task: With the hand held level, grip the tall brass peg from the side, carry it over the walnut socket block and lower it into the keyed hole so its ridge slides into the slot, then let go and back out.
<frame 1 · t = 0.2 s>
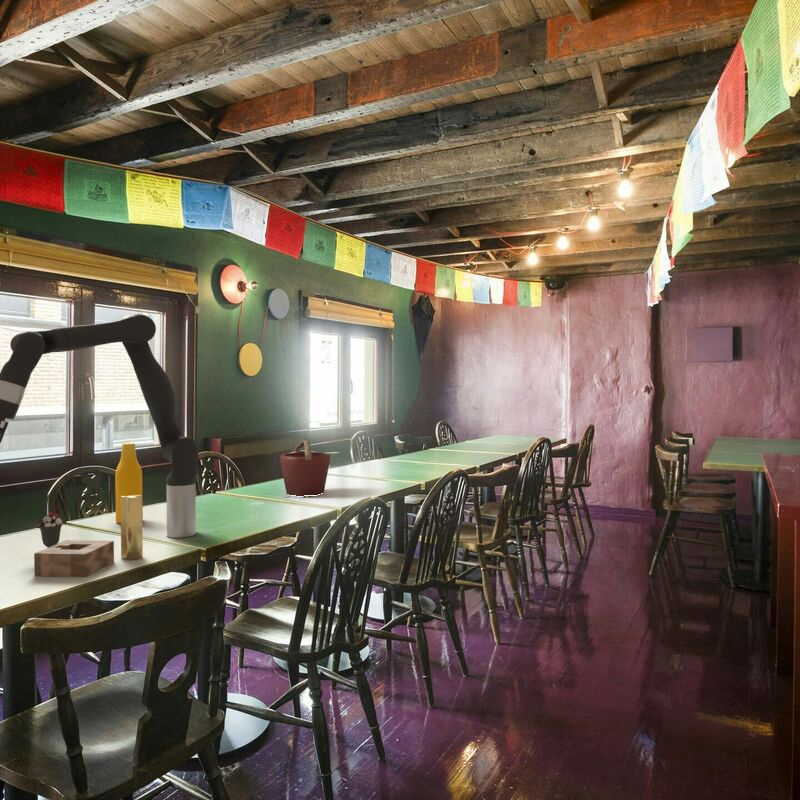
brass peg: (134, 558, 178), on the table
bucket: (306, 494, 284), on the table
beer bottle: (129, 522, 227), on the table
walnut socket block: (75, 568, 168), on the table
sundae: (51, 559, 177), on the table
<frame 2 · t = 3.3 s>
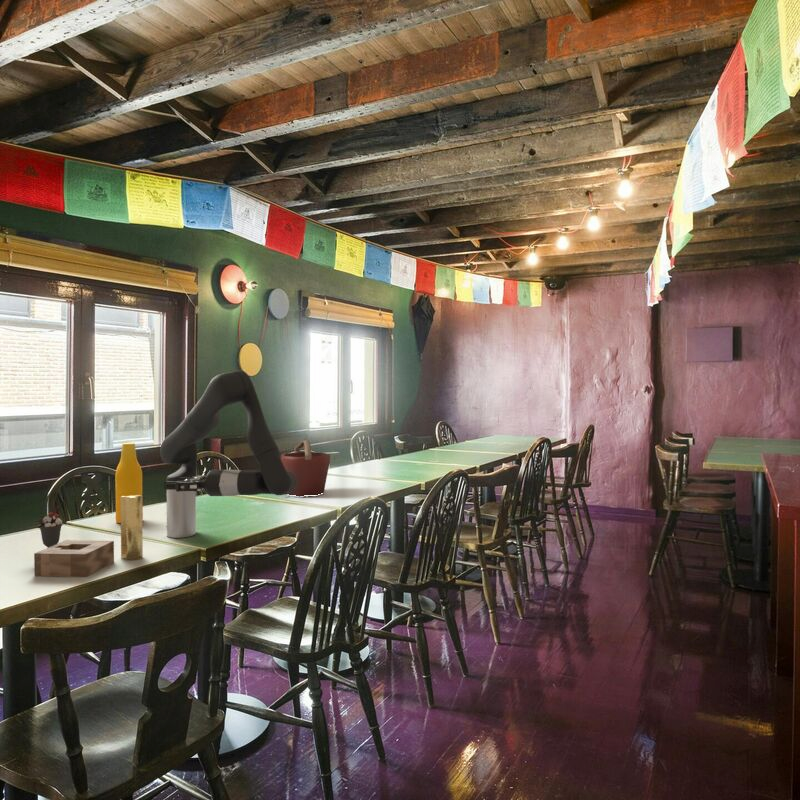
hand: (171, 483, 177), 22 cm above the table, tool horizontal, fingers open, 8 cm apart
nothing on the table moved.
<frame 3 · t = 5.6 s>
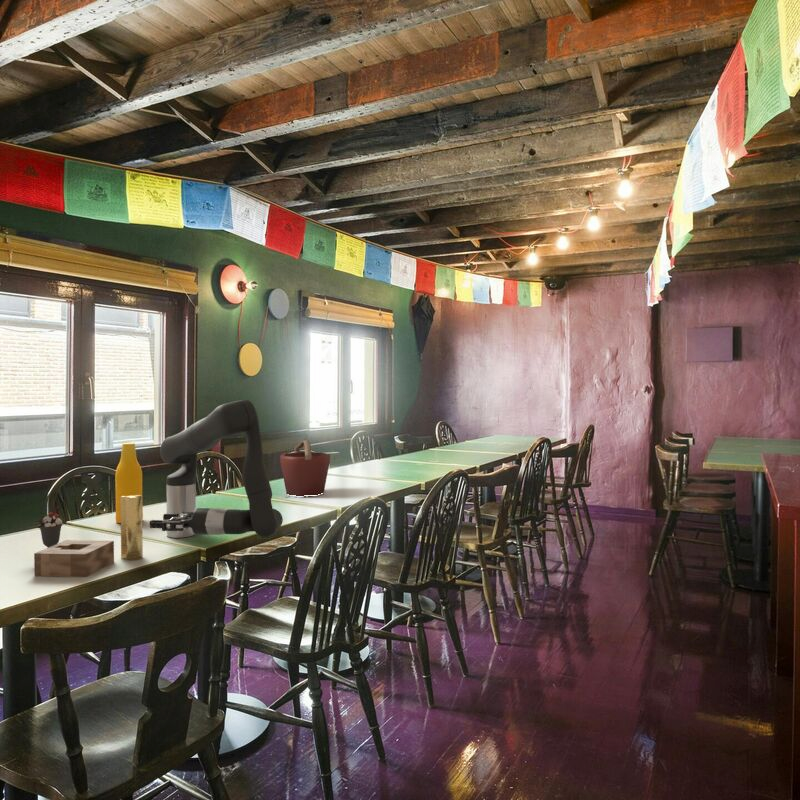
hand: (157, 520, 177), 11 cm above the table, tool horizontal, fingers open, 8 cm apart
nothing on the table moved.
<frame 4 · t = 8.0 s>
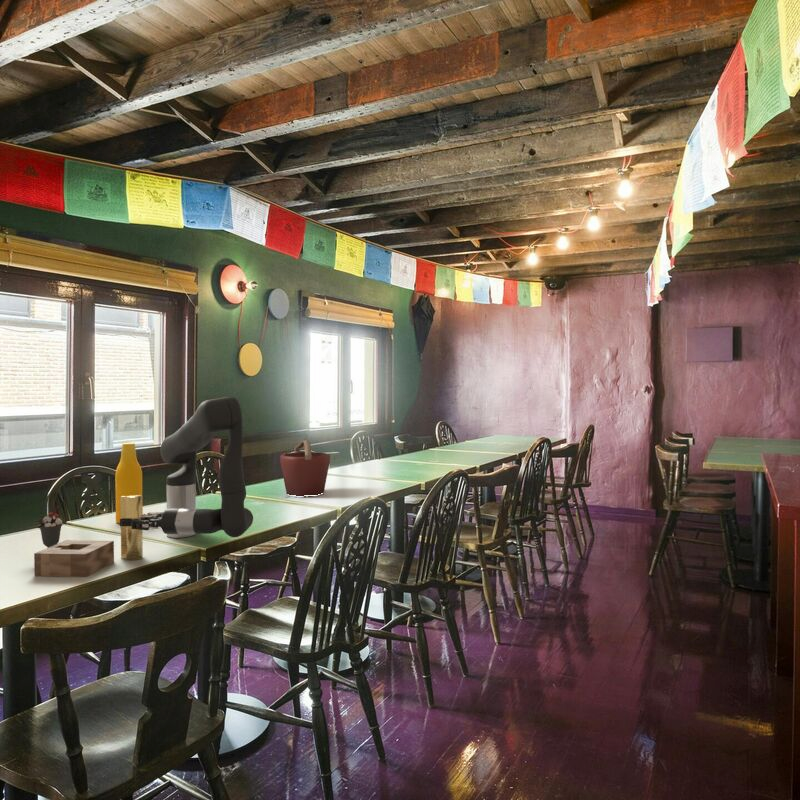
hand: (125, 520, 178), 11 cm above the table, tool horizontal, fingers closed on brass peg, 4 cm apart
brass peg: (134, 558, 178), on the table, touching gripper
everything else where it was.
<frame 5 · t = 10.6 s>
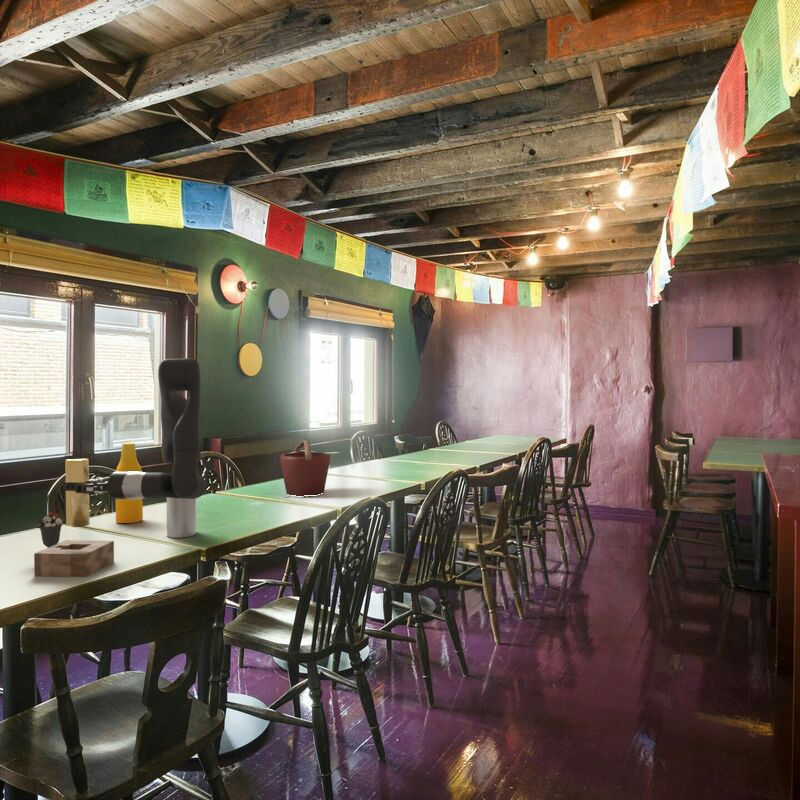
hand: (70, 485, 168), 23 cm above the table, tool horizontal, fingers closed on brass peg, 4 cm apart
brass peg: (80, 525, 168), point 12 cm above the table, touching gripper
everything else where it was.
when the fingers open (12 cm above the table, at t = 13.7 s): brass peg drops 1 cm, resting in walnut socket block.
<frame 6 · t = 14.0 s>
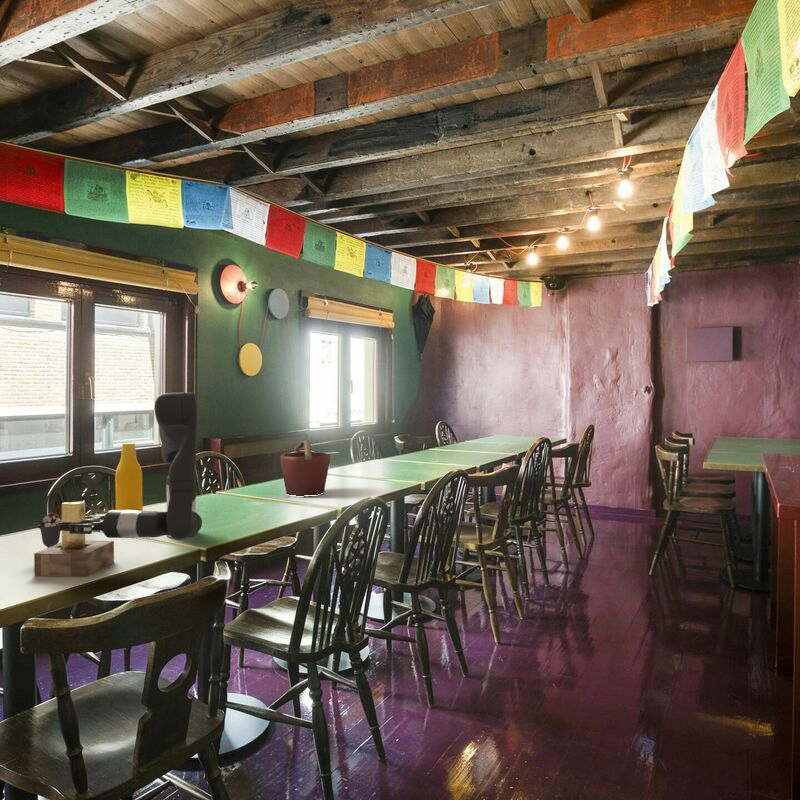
hand: (67, 523, 168), 12 cm above the table, tool horizontal, fingers open, 7 cm apart
brass peg: (76, 568, 168), resting in walnut socket block
everything else where it was.
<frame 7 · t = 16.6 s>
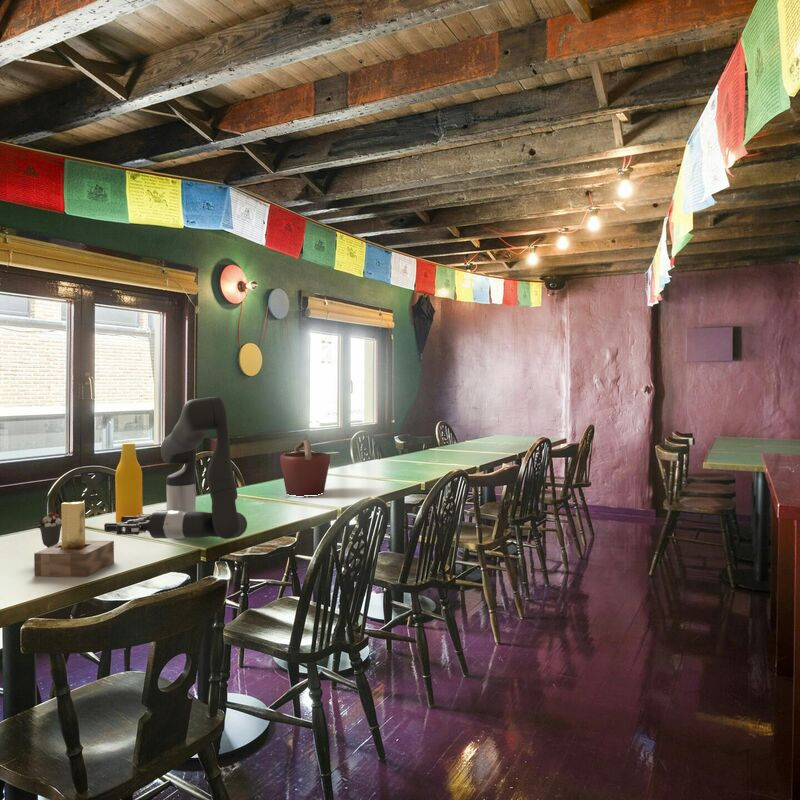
hand: (113, 523, 167), 13 cm above the table, tool horizontal, fingers open, 8 cm apart
nothing on the table moved.
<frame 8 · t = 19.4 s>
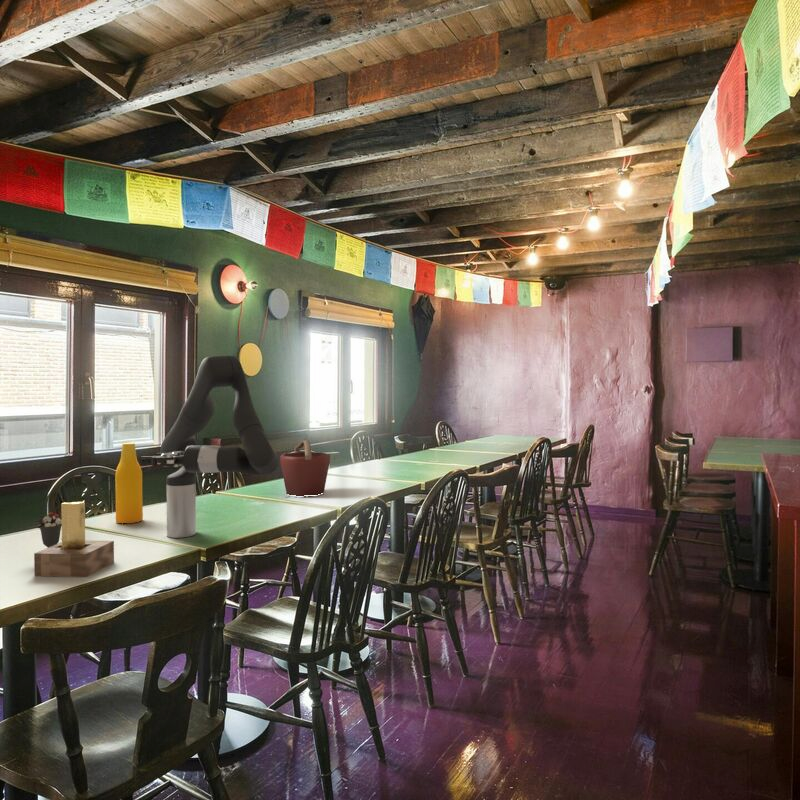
hand: (147, 458, 169), 30 cm above the table, tool horizontal, fingers open, 8 cm apart
nothing on the table moved.
at the end: brass peg 0.2 cm off-centre on the walnut socket block, point 0.0 cm above the walnut socket block's base; brass peg tilted 0°; the gripper is holding nothing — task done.
